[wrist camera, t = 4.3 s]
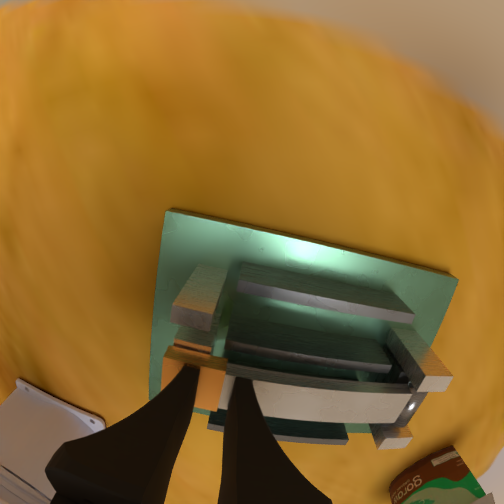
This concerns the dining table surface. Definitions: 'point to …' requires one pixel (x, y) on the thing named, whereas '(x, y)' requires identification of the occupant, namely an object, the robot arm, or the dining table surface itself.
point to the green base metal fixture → (297, 315)
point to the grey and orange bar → (295, 392)
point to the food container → (438, 482)
